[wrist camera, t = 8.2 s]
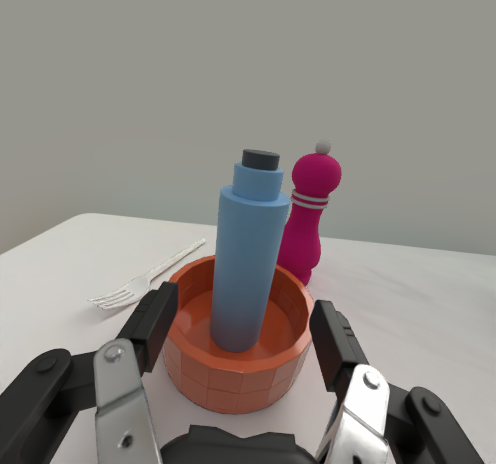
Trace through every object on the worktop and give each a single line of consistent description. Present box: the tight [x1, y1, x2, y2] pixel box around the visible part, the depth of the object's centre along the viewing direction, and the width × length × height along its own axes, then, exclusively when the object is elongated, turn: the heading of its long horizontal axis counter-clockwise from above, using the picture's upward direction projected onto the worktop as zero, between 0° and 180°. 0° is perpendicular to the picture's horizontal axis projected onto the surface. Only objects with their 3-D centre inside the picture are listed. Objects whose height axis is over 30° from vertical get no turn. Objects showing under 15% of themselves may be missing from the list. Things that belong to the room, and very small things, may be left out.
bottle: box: [210, 149, 290, 352], centre depth 19 cm, size 5×5×18 cm
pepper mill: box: [276, 140, 341, 286], centre depth 29 cm, size 7×7×20 cm
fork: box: [88, 238, 205, 309], centre depth 30 cm, size 3×20×2 cm, turn 157°
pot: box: [162, 255, 314, 414], centre depth 22 cm, size 15×15×6 cm
